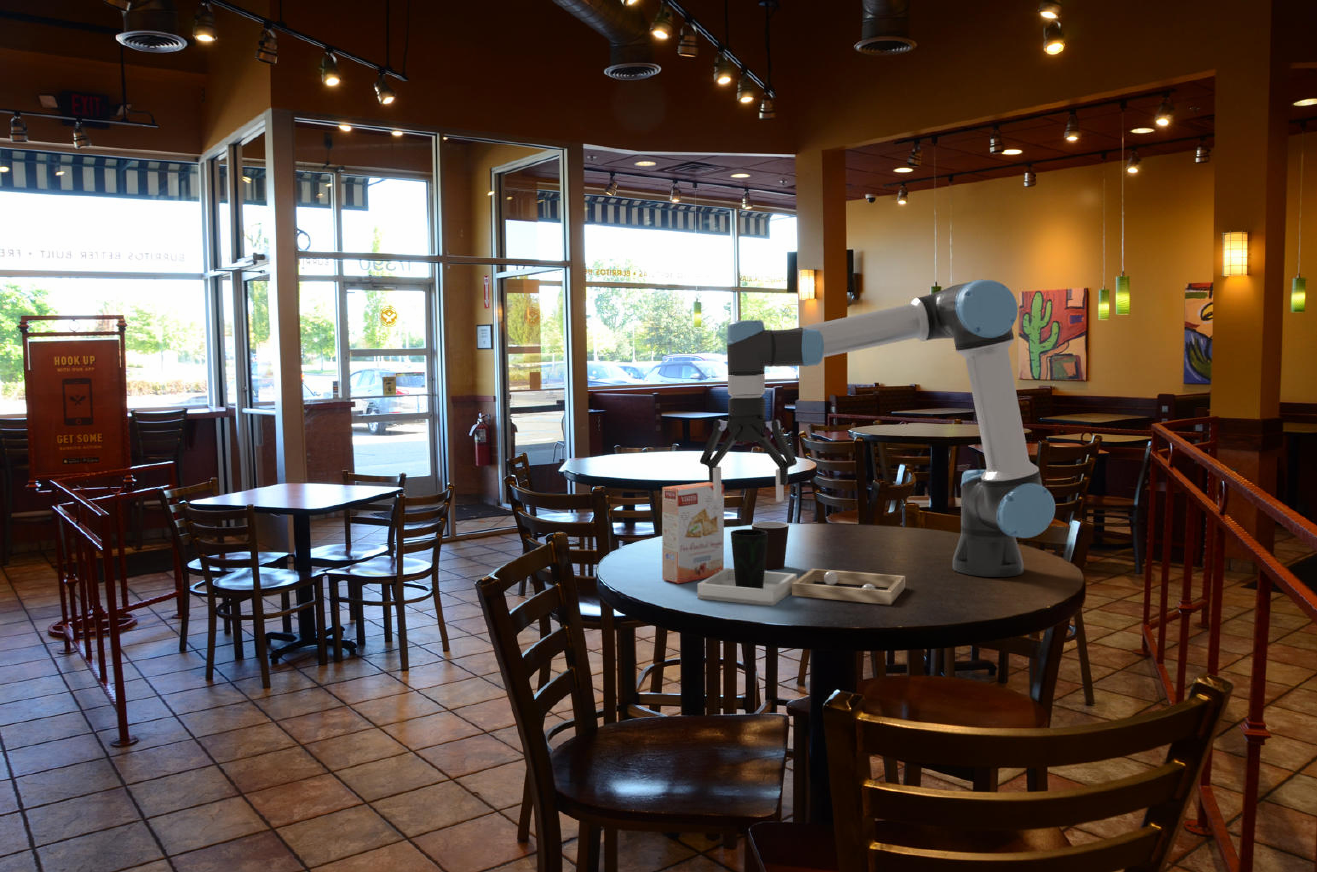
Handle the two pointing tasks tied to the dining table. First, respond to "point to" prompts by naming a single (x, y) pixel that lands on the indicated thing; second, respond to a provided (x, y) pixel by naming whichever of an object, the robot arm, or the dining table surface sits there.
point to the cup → (749, 557)
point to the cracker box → (692, 532)
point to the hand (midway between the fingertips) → (748, 499)
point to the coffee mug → (774, 543)
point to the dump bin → (746, 588)
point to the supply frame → (809, 589)
